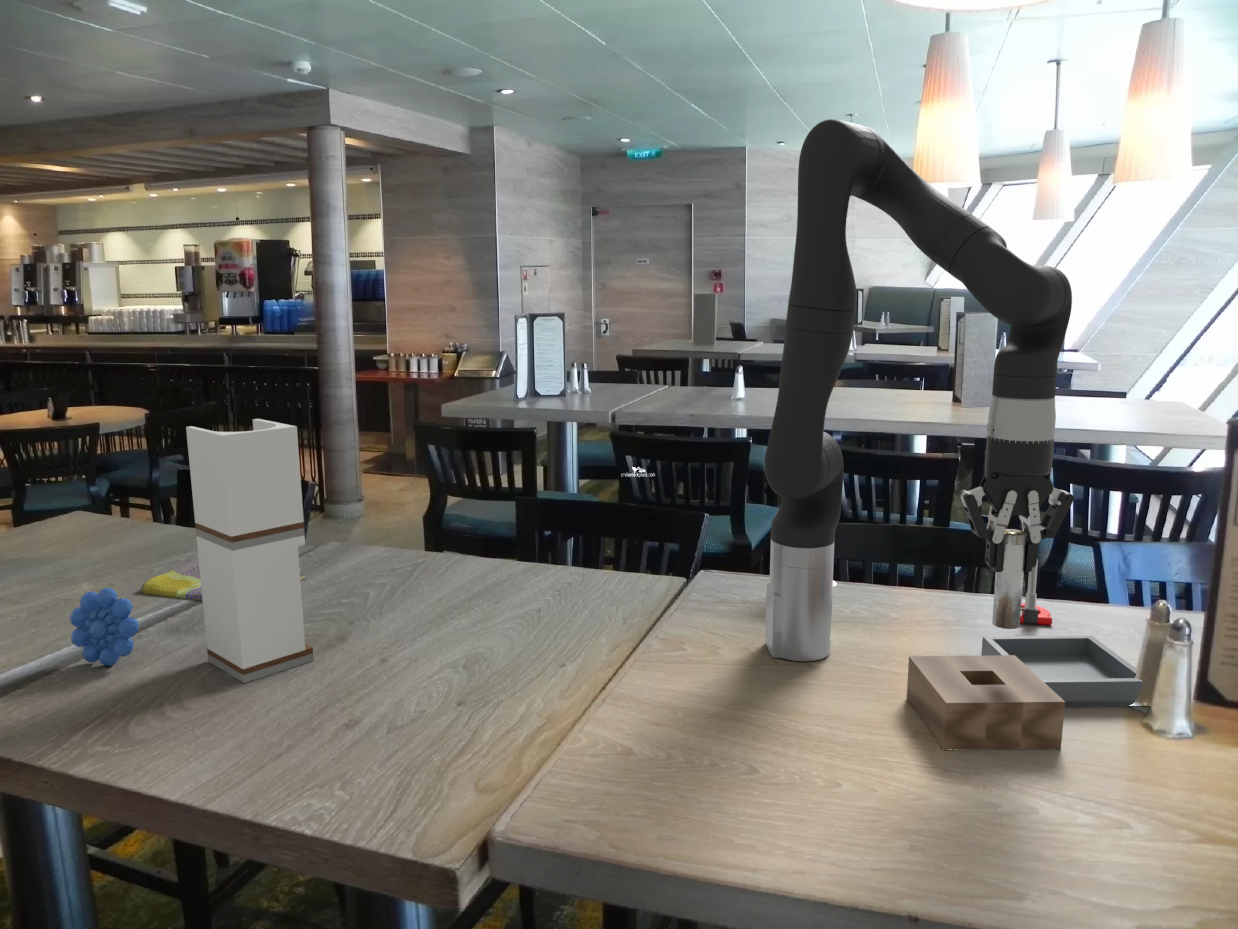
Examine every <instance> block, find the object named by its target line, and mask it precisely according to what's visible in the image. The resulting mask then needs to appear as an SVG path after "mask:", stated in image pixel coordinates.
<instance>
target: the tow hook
mask: <svg viewBox="0 0 1238 929" xmlns="http://www.w3.org/2000/svg"><path fill="white" fill-rule="evenodd" d="M1038 563H1039V559H1038V558H1037V564H1036V566H1035V567H1032V571H1031V572H1028V578H1027V580H1028V581H1027V582H1028V583H1027V591H1026V592H1025V602H1024V603H1023V602H1021V608H1022V609H1021V614H1020V623H1023V624H1022V625H1026V624H1031V626H1039V625H1040V626H1042V625H1043V626H1052V624H1053V618H1052V616H1051V612H1050V611H1049V610H1048V609H1047V608H1044V607H1042V606H1039V605H1037V597H1038V596H1037V593H1036V592H1037V591H1036V590H1037V577H1038ZM1038 613H1039V614H1038ZM1032 624H1033V625H1032ZM1037 624H1039V625H1037Z"/></svg>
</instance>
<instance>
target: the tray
mask: <svg viewBox="0 0 1238 929" xmlns="http://www.w3.org/2000/svg"><path fill="white" fill-rule="evenodd" d="M981 639H982V640H981V652H980V654H981V655H980V656H989V655H1015V656H1016V657H1017V658H1018V659H1019V660H1020V661H1022V662H1023V663H1024V664H1025V665H1026V666H1027V667H1028V668H1029V669H1030V670H1031V671H1032V672H1033V673H1035V674H1036V675H1037V676H1038V677H1039V678H1040V679H1041V680H1042V681H1043V682H1044V683H1045V684H1046V685H1048V686H1049V687H1050V688H1051V689H1052V690H1053V691H1054V692H1055V693H1056V694H1057V695H1058V696H1059V697H1061V698H1062V699H1063V700H1064V701H1065V708H1110V707H1113V708H1115V707H1116V708H1117V707H1125V708H1126V707H1128V706H1129V705H1131V704H1133V703H1134V702H1135V700H1136V699H1137V697H1138V696H1139V693H1140V690H1141V689H1142V688H1141V687H1142V684H1143V681H1142V680H1140V679H1138V678H1135V676H1136V668H1137V667H1135V666H1134V665H1132V664H1131V663H1130V662H1128V661H1127V660H1125V658H1123V657H1122V656H1120V655H1119V654H1117V652H1115V651H1114V650H1113V649H1111V648H1109V647H1108V646H1107V645H1105V644H1104V643H1102V642H1101V641H1100V640H1098V639H1097V638H1096V637H1095V636H1093V635H1027V636H1026V635H1020V636H1019V635H1015V636H1014V635H1013V636H1012V635H1011V636H1008V635H1005V636H1004V635H1002V636H994V635H993V636H982V638H981ZM1137 695H1138V696H1137Z"/></svg>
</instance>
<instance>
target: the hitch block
mask: <svg viewBox="0 0 1238 929" xmlns="http://www.w3.org/2000/svg"><path fill="white" fill-rule="evenodd" d="M907 665H908V667H907V668H908V669H907V670H908V671H907V684H906V685H907V686H906V687H907V688H906V700H907V701H908V703H909V704H910V705H911V707H912V709H913V711H915V713H916V714H917V716H918V717H919V718H920V720H921V721H922V722H923V724H924V725H925V727H926V728H927V730H928V731H929V733H930V734H931V735H932V737H933V736H934V737H933V738H934V739H935V740H937V741H936V742H937V743H939V746H940V748H941V747H942V748H941V750H943V749H944V750H943V751H962V750H961V749H965V750H964V751H967V750H966V749H970V750H969V751H972V750H971V749H975V750H974V751H977V750H976V749H982V750H983V749H996V750H1001V749H1002V750H1003V749H1004V751H1006V750H1008V749H1009V750H1061V749H1062V740H1063V731H1064V730H1063V727H1064V718H1065V717H1064V716H1065V708H1066V707H1065V701H1064V700H1063V699H1062V698H1061V697H1059V696H1058V695H1057V694H1056V693H1055V692H1054V691H1053V690H1052V689H1051V688H1050V687H1049V686H1048V685H1046V684H1045V683H1044V682H1043V681H1042V680H1041V679H1040V678H1039V677H1038V676H1037V675H1036V674H1035V673H1033V672H1032V671H1031V670H1030V669H1029V668H1028V667H1027V666H1026V665H1025V664H1024V663H1023V662H1022V661H1020V660H1019V659H1018V658H1017V657H1016V656H1015V655H989V656H981V655H912V656H911V655H909V656H908V664H907ZM946 749H947V750H946ZM948 749H950V750H948ZM951 749H952V750H951ZM954 749H955V750H954ZM956 749H958V750H956ZM959 749H960V750H959ZM982 750H981V751H982ZM1002 750H1001V751H1002ZM983 751H984V750H983Z"/></svg>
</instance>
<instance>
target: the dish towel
mask: <svg viewBox="0 0 1238 929" xmlns="http://www.w3.org/2000/svg"><path fill="white" fill-rule="evenodd" d="M299 568H300V574H301V573H302V572H303V570H302V568H301V567H299ZM305 579H306V576H305V575H300V582H301V581H303V580H305ZM140 591H141V592H142V593H143V594H145V595H152V596H153V595H154V596H158V597H167V598H175V599H183V600H192V601H202V590H201V580H200V569H199V559H198V558H197V559H195V560H193V561H190V562H189V563H185V564H182V565H180V566H178V567H176V568H174V569H171V570H170V571H168V572H166V573H162V574H159V575H156V576H154V577H152V578H149V579H148V580H146V581H144V583H143V584H142V585H141V588H140ZM202 602H203V601H202Z"/></svg>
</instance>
